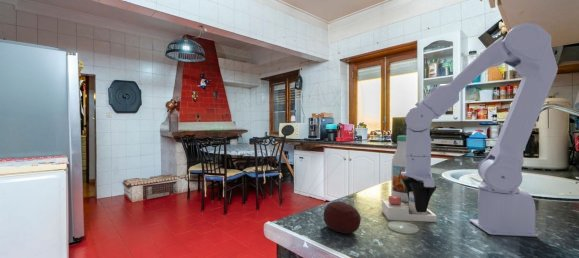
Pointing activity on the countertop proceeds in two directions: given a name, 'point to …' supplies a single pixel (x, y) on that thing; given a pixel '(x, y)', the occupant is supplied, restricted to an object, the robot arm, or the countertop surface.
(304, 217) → the countertop surface
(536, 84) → the robot arm
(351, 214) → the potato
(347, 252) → the countertop surface
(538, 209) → the countertop surface
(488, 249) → the countertop surface
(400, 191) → the milk bottle
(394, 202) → the plunger
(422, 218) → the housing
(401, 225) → the pale green dome
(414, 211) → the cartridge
